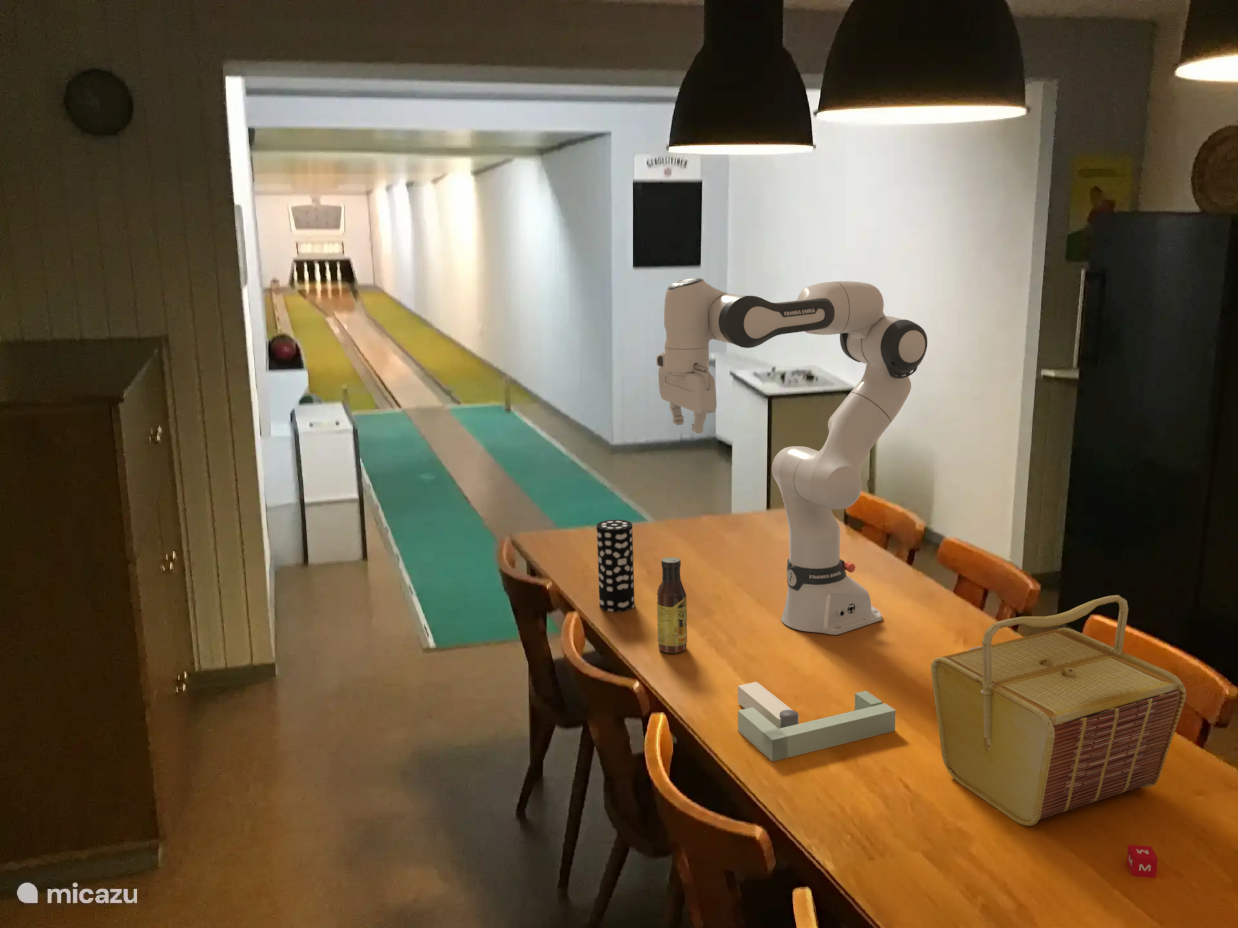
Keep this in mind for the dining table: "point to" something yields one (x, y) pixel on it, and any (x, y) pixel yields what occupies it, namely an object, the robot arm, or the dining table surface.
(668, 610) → the sauce bottle
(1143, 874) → the dice
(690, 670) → the dining table surface
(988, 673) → the picnic basket
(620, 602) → the white-spotted black cylinder
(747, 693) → the bar
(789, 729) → the frame
